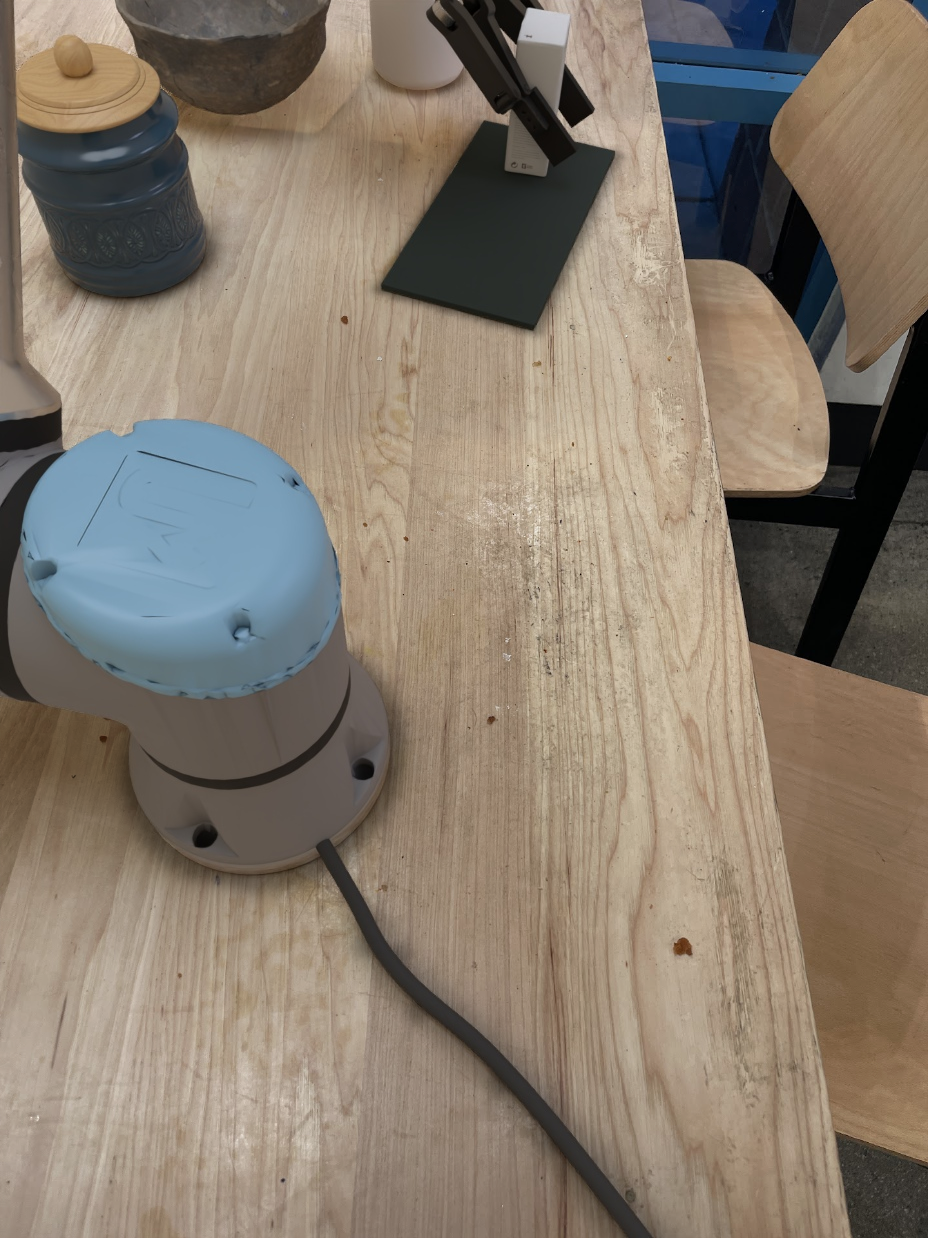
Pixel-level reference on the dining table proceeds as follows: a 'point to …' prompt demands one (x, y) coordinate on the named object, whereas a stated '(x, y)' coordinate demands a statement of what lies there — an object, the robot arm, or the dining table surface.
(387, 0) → the cup
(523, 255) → the mat
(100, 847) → the dining table surface
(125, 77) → the canister
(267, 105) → the bowl
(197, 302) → the dining table surface
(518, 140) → the cosmetic box
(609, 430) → the dining table surface
